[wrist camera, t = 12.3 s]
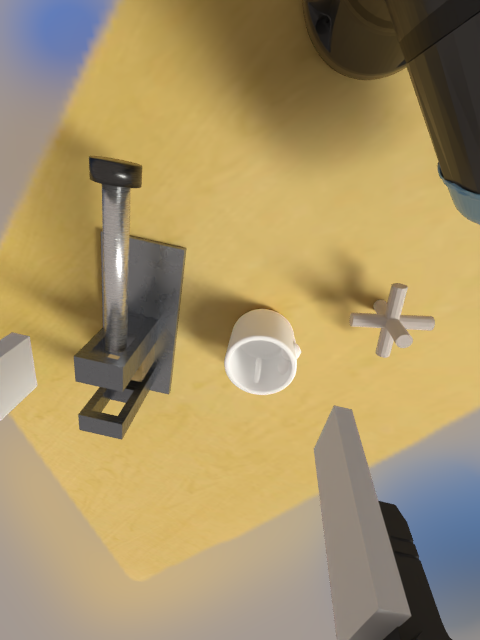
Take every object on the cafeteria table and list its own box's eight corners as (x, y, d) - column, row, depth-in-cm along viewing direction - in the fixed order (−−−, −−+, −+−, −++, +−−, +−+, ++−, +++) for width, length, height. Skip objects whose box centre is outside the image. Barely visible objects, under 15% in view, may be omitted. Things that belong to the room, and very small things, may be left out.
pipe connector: (339, 333, 48) (352, 373, 39) (350, 271, 43) (368, 300, 34) (407, 336, 47) (437, 378, 38) (425, 273, 42) (464, 304, 33)
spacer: (121, 334, 51) (104, 352, 46) (155, 342, 51) (142, 361, 46) (121, 353, 53) (105, 373, 48) (153, 361, 53) (141, 382, 48)
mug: (288, 374, 52) (289, 413, 44) (228, 364, 53) (219, 401, 45) (304, 311, 47) (309, 344, 39) (236, 300, 47) (228, 330, 39)
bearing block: (104, 229, 44) (39, 257, 32) (186, 248, 44) (151, 282, 32) (106, 376, 57) (60, 434, 45) (170, 390, 57) (141, 453, 45)
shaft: (104, 156, 34) (78, 155, 29) (149, 166, 34) (129, 167, 29) (107, 333, 45) (88, 352, 40) (141, 341, 45) (125, 361, 40)
